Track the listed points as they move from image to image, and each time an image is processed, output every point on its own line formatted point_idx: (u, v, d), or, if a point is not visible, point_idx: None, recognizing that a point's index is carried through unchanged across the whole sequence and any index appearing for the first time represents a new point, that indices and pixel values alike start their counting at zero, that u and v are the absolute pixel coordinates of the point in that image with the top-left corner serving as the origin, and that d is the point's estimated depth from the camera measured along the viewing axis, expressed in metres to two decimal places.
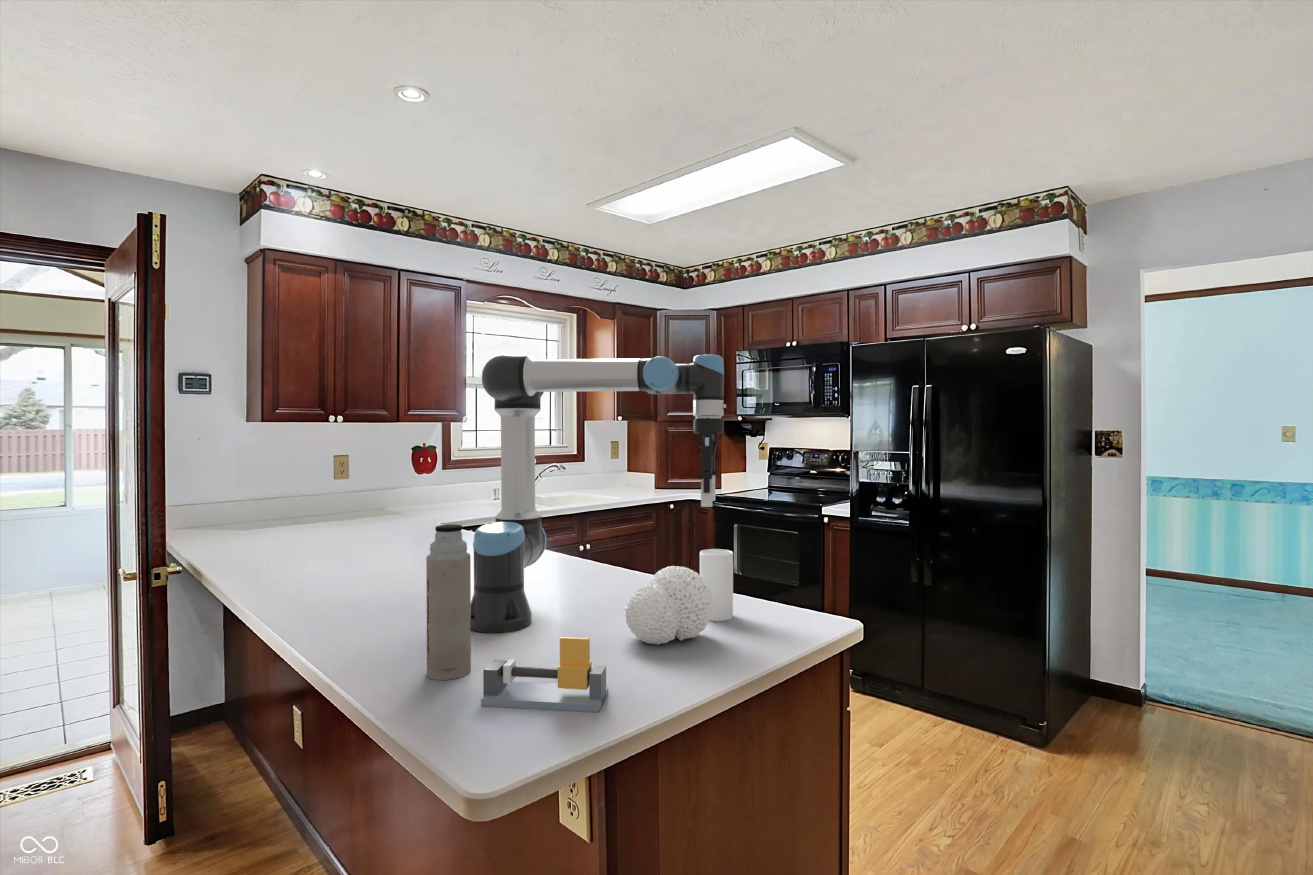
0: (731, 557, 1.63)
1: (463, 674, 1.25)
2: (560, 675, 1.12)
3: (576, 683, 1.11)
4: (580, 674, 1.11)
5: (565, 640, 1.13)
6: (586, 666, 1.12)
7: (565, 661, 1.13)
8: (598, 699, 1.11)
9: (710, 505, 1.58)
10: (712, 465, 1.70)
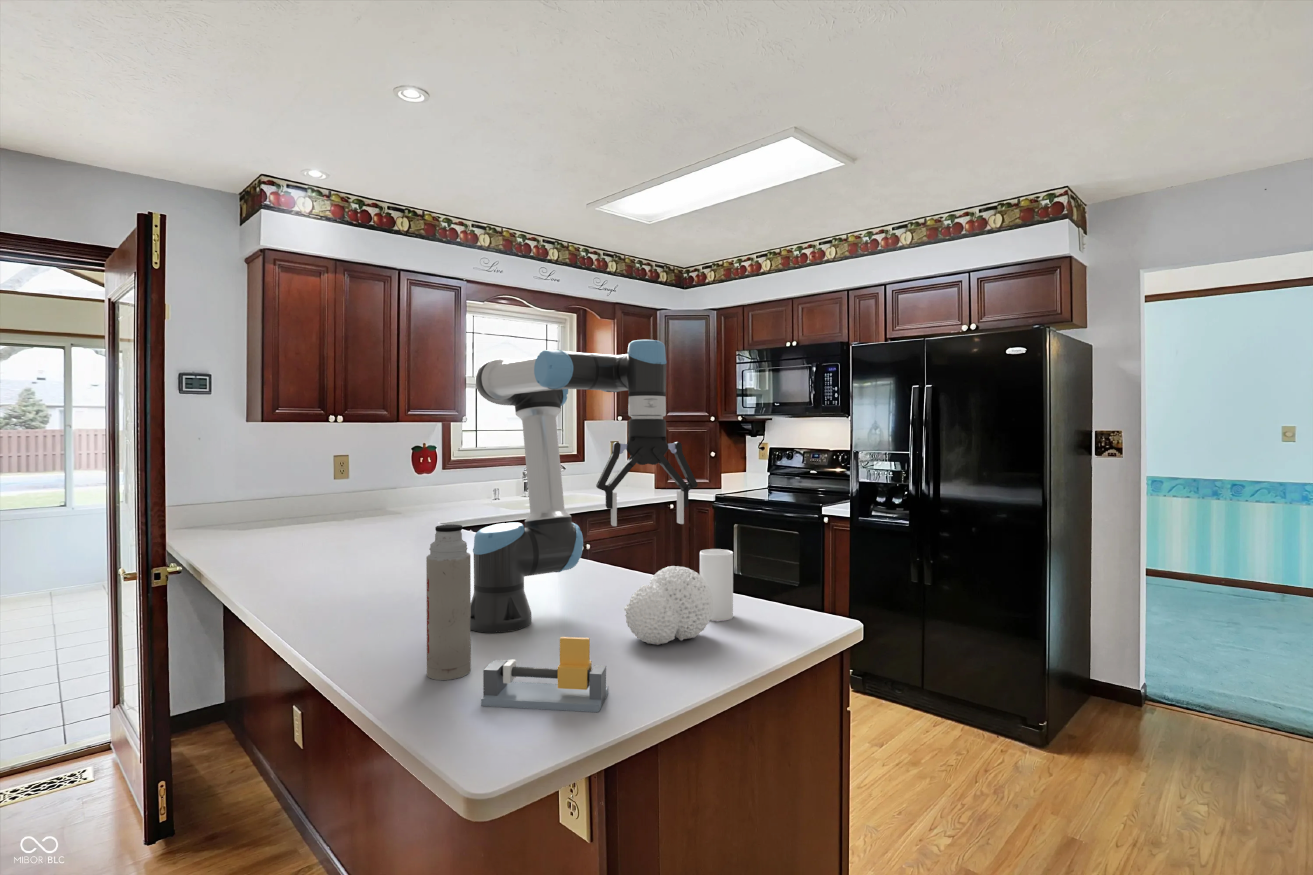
0: (731, 557, 1.63)
1: (463, 674, 1.25)
2: (560, 675, 1.12)
3: (576, 683, 1.11)
4: (580, 674, 1.11)
5: (565, 640, 1.13)
6: (586, 666, 1.12)
7: (565, 661, 1.13)
8: (598, 699, 1.11)
9: (612, 524, 1.31)
10: (673, 478, 1.34)
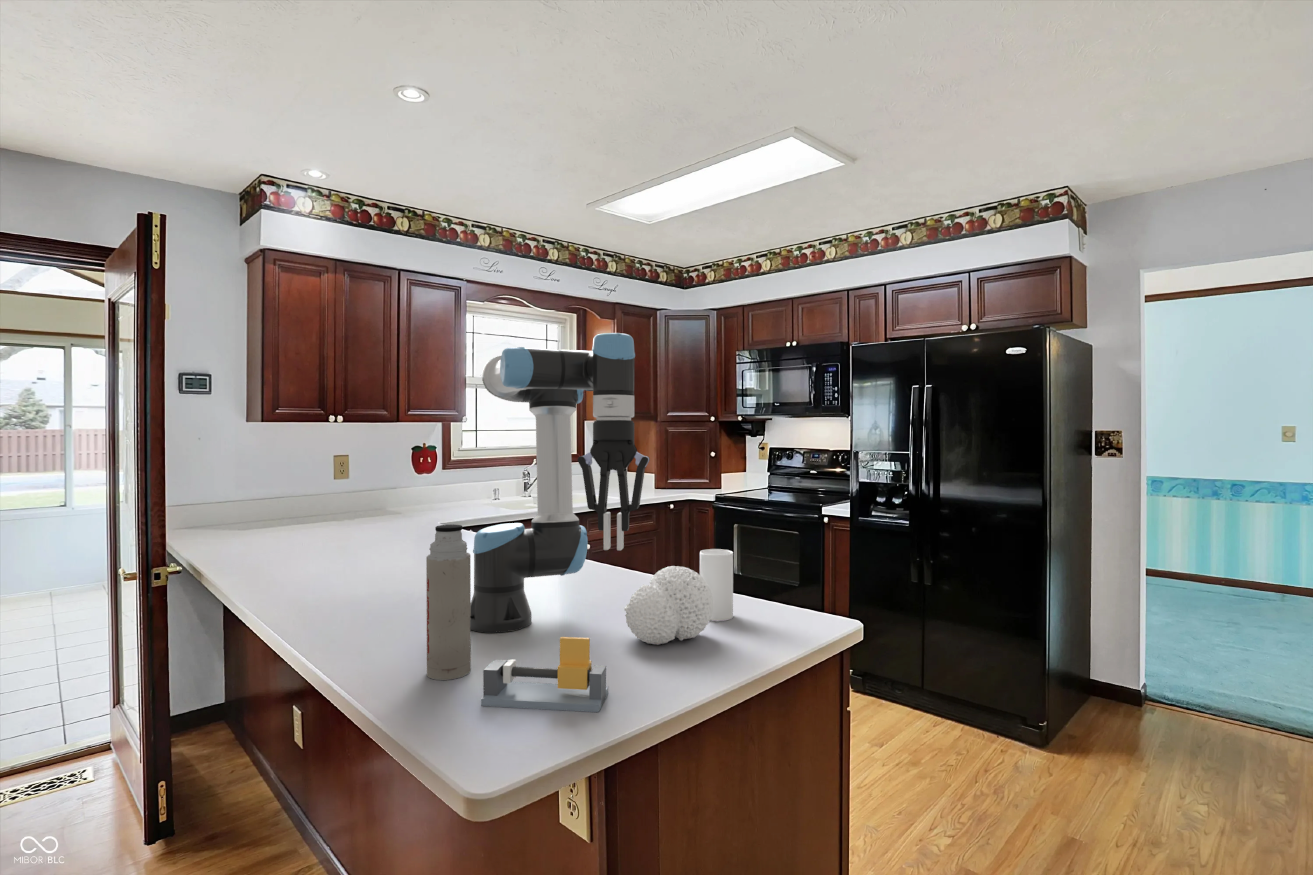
0: (731, 557, 1.63)
1: (463, 674, 1.25)
2: (560, 675, 1.12)
3: (576, 683, 1.11)
4: (580, 674, 1.11)
5: (565, 640, 1.13)
6: (586, 666, 1.12)
7: (565, 661, 1.13)
8: (598, 699, 1.11)
9: None
10: None
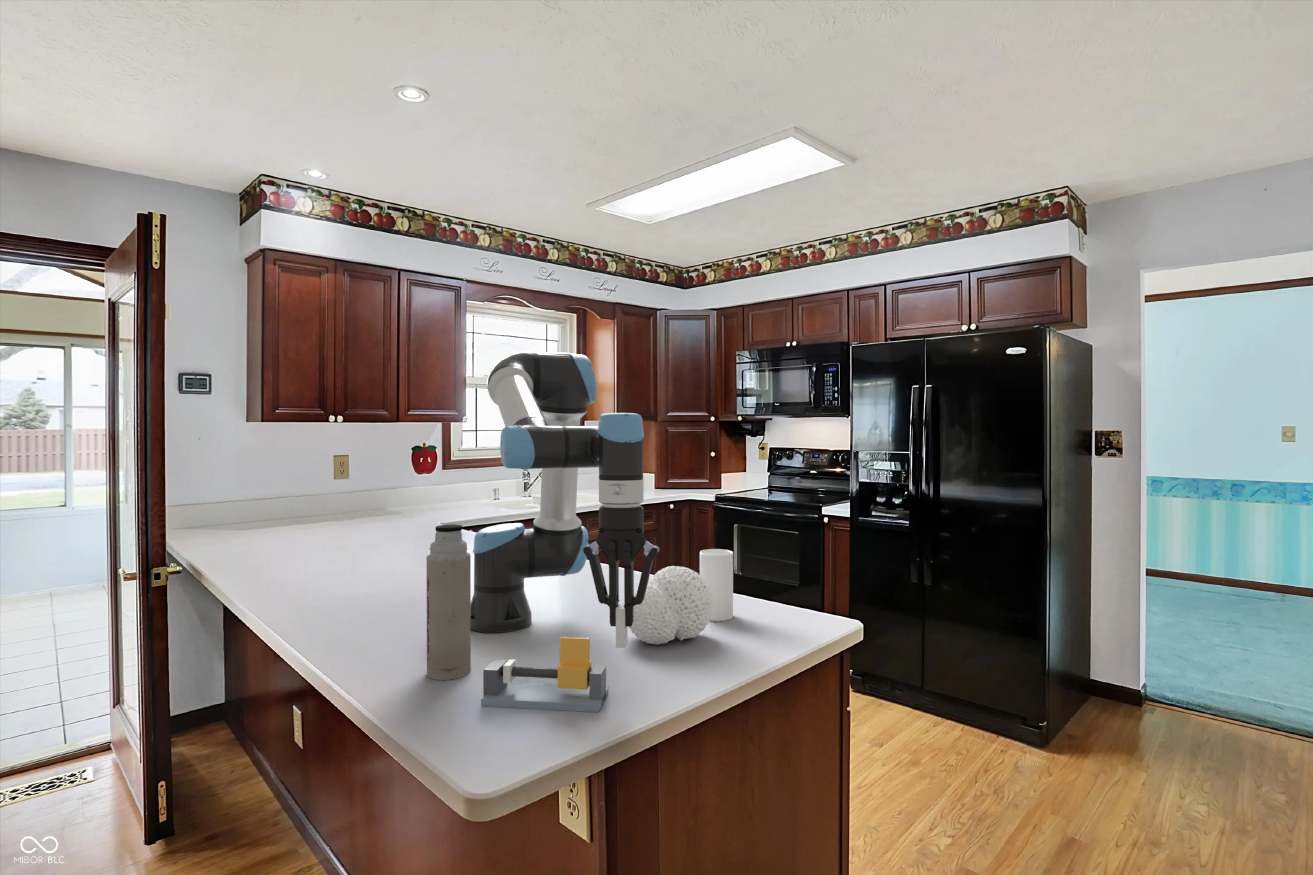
0: (731, 557, 1.63)
1: (463, 674, 1.25)
2: (560, 675, 1.12)
3: (576, 683, 1.11)
4: (580, 674, 1.11)
5: (565, 640, 1.13)
6: (586, 666, 1.12)
7: (565, 661, 1.13)
8: (598, 699, 1.11)
9: None
10: None
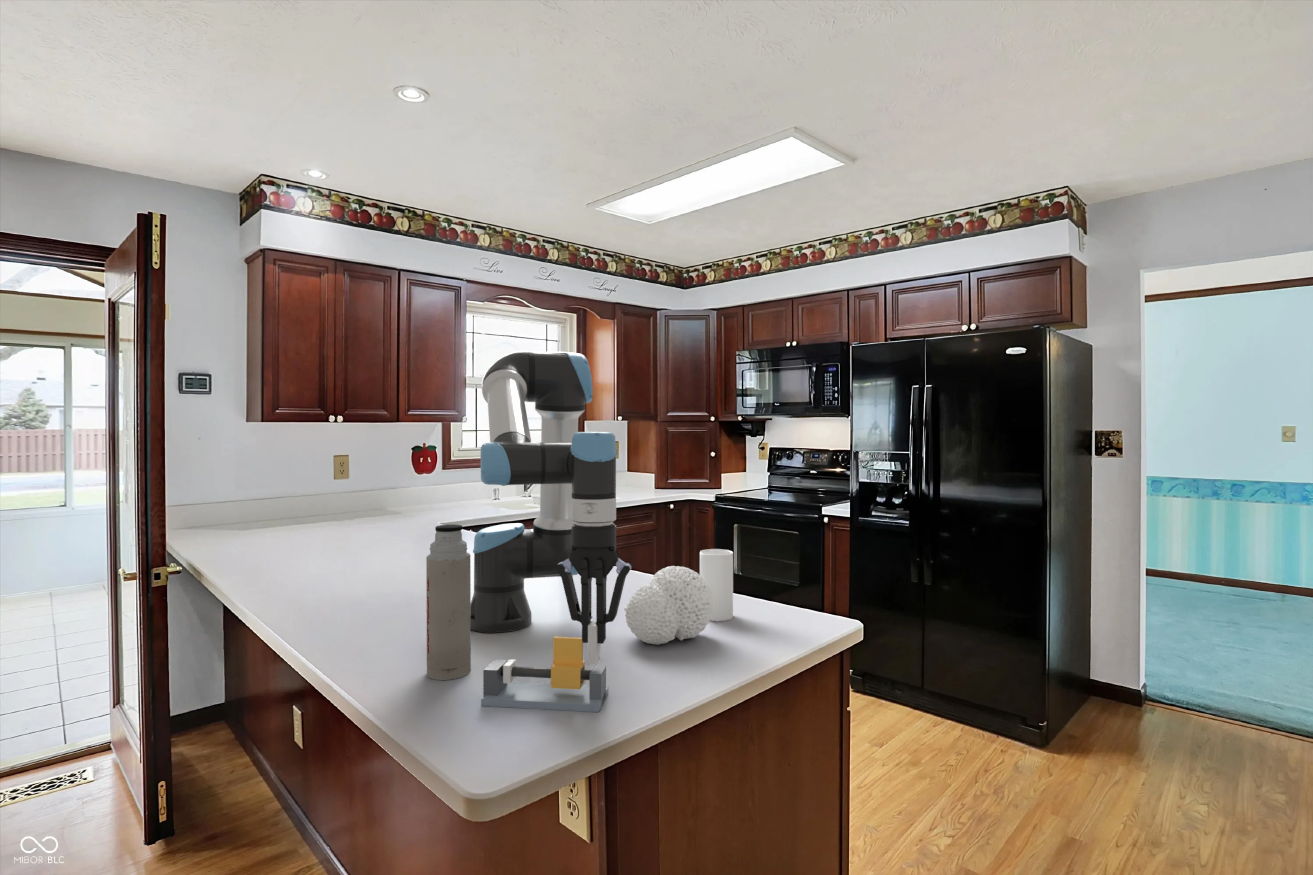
0: (731, 557, 1.63)
1: (463, 674, 1.25)
2: (553, 675, 1.12)
3: (569, 683, 1.12)
4: (573, 674, 1.12)
5: (558, 640, 1.13)
6: (579, 666, 1.12)
7: (558, 661, 1.13)
8: (598, 699, 1.11)
9: None
10: None
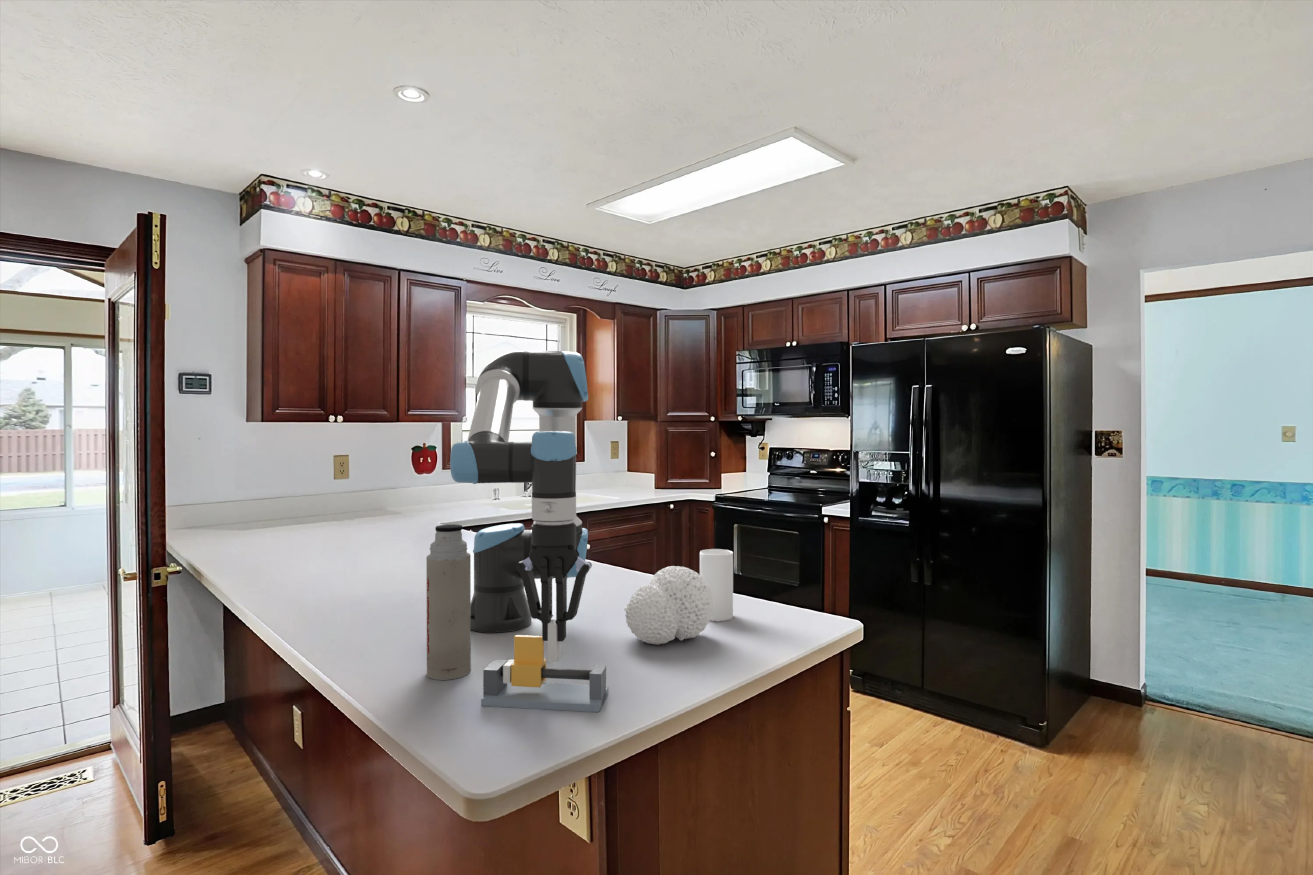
0: (731, 557, 1.63)
1: (463, 674, 1.25)
2: (514, 673, 1.13)
3: (530, 681, 1.12)
4: (533, 672, 1.12)
5: (519, 638, 1.14)
6: (540, 664, 1.13)
7: (519, 659, 1.14)
8: (598, 699, 1.11)
9: None
10: None
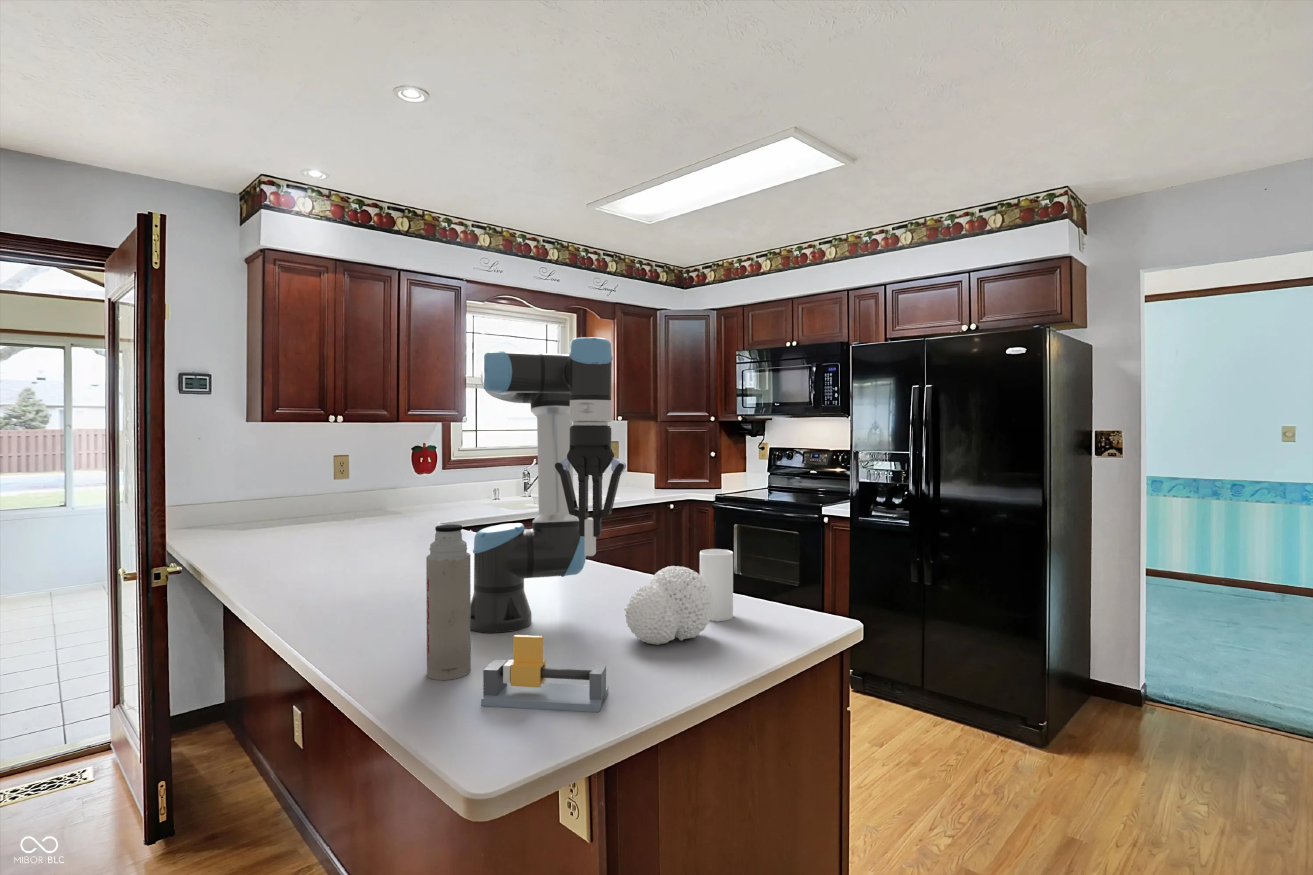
0: (731, 557, 1.63)
1: (463, 674, 1.25)
2: (513, 673, 1.13)
3: (529, 681, 1.13)
4: (533, 672, 1.12)
5: (519, 638, 1.14)
6: (539, 664, 1.13)
7: (519, 659, 1.14)
8: (598, 699, 1.11)
9: None
10: (593, 498, 1.20)
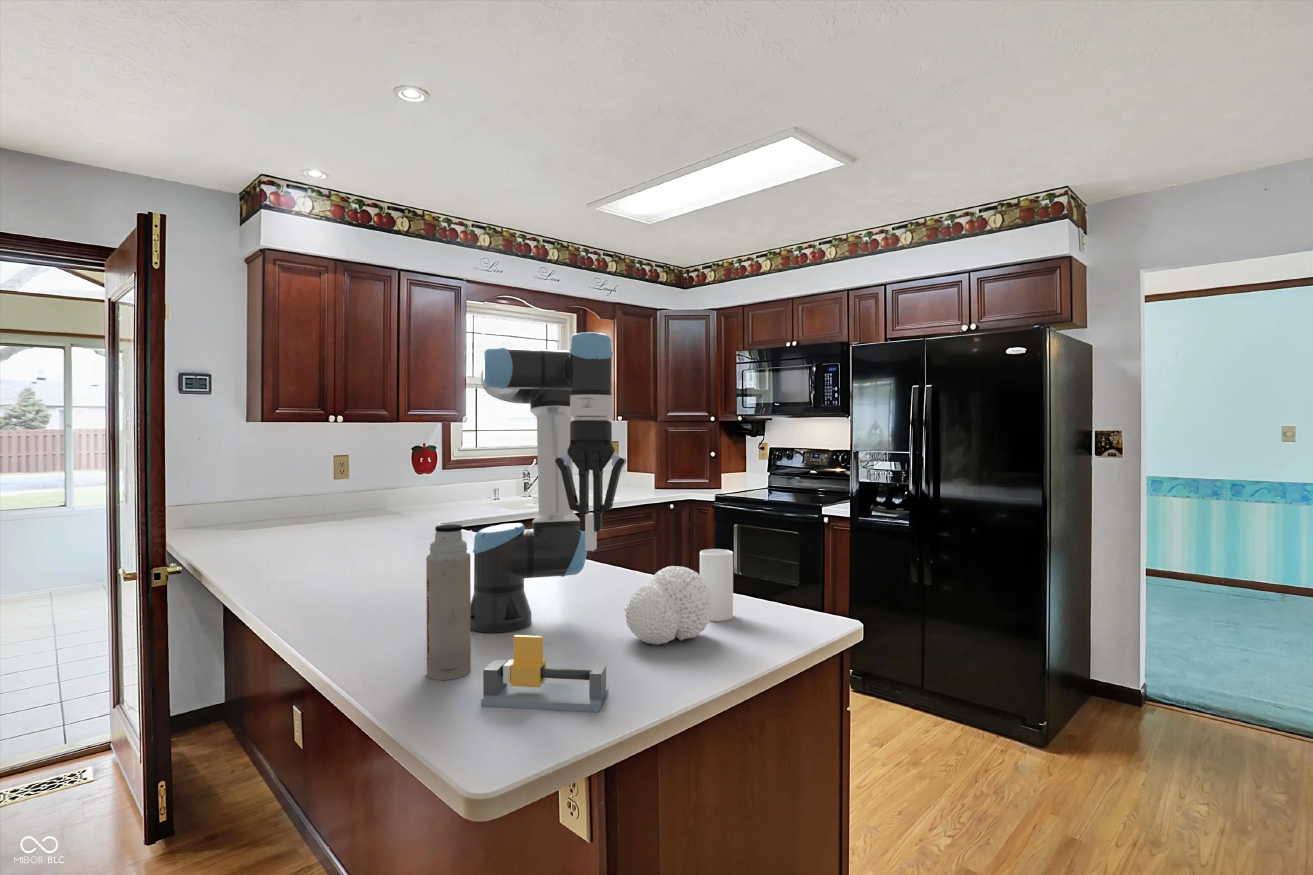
0: (731, 557, 1.63)
1: (463, 674, 1.25)
2: (513, 673, 1.13)
3: (529, 681, 1.13)
4: (533, 672, 1.12)
5: (519, 638, 1.14)
6: (539, 664, 1.13)
7: (519, 659, 1.14)
8: (598, 699, 1.11)
9: None
10: None
